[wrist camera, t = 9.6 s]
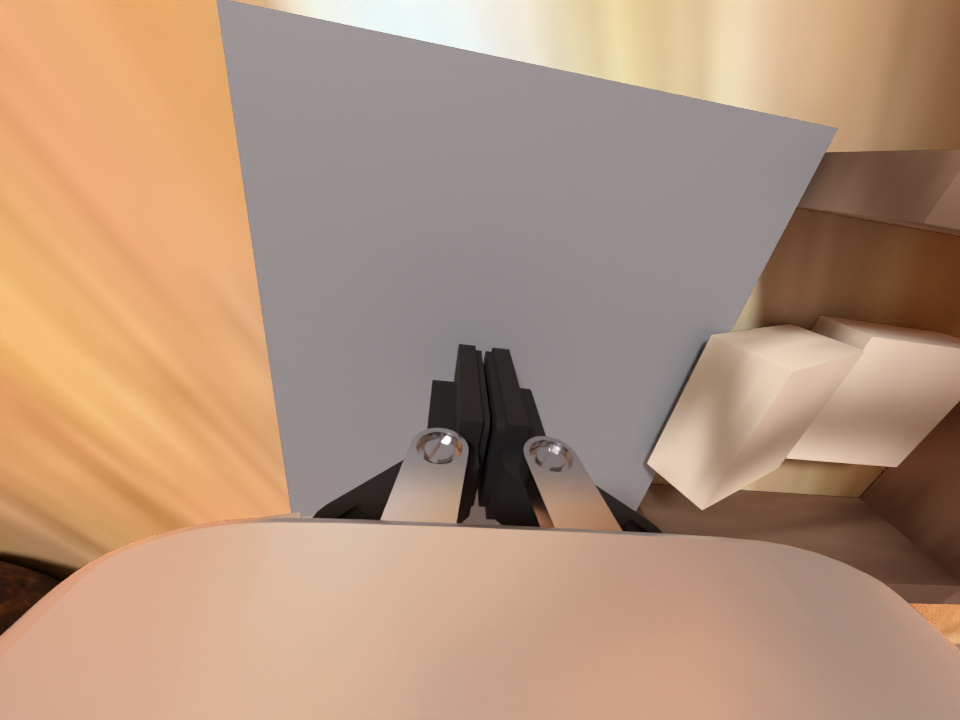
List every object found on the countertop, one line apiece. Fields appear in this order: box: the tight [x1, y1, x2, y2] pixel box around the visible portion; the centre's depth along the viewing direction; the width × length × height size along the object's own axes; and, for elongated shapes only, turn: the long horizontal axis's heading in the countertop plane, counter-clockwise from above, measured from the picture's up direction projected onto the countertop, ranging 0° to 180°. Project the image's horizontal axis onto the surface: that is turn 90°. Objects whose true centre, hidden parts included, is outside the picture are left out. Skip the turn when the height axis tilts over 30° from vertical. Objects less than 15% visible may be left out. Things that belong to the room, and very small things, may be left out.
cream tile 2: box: [786, 315, 960, 467], centre depth 16 cm, size 6×6×2 cm
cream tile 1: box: [647, 324, 865, 510], centre depth 14 cm, size 6×6×2 cm
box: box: [636, 149, 960, 604], centre depth 15 cm, size 17×16×5 cm
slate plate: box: [217, 0, 838, 525], centre depth 14 cm, size 18×16×2 cm
